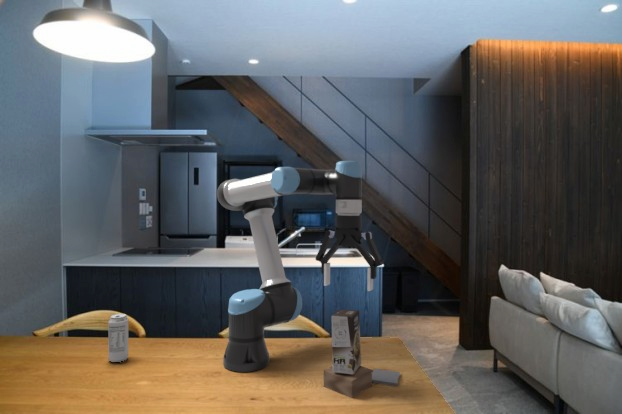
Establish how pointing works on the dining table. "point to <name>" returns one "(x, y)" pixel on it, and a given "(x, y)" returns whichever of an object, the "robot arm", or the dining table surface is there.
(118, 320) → the energy drink can
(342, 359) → the coffee box
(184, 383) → the dining table surface
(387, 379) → the slate coaster
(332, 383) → the walnut block
